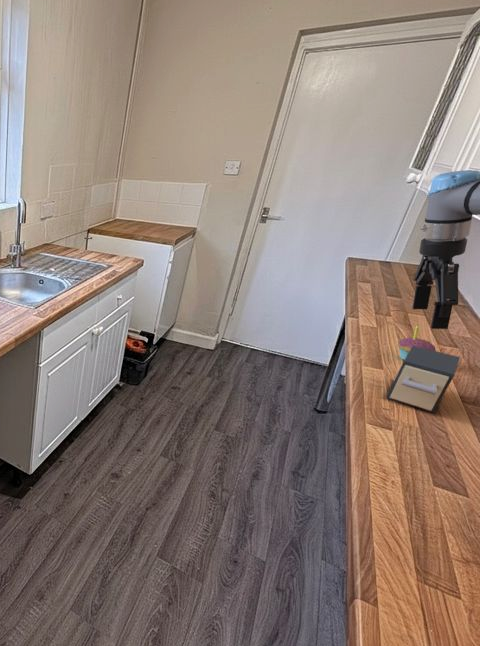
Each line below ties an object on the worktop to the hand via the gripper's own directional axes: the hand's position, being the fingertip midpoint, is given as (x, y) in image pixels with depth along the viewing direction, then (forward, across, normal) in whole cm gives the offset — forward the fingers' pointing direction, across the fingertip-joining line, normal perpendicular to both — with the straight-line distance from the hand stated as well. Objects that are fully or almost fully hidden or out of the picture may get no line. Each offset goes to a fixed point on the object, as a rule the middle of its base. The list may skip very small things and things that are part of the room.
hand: (428, 318), depth 108 cm
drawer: (+21, +6, -2) cm, 22 cm away
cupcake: (+25, -26, +5) cm, 37 cm away
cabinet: (+22, +2, -1) cm, 22 cm away
